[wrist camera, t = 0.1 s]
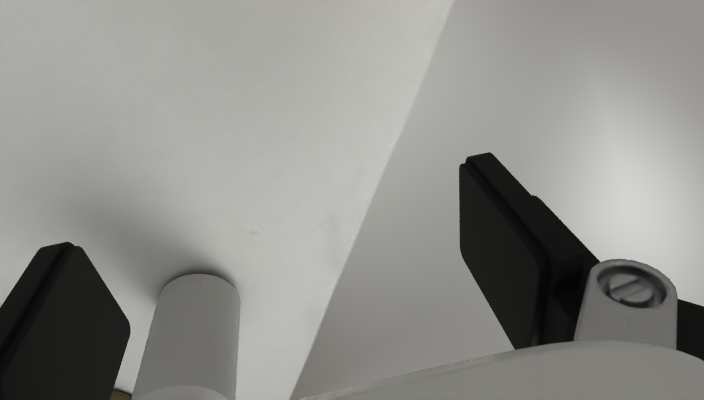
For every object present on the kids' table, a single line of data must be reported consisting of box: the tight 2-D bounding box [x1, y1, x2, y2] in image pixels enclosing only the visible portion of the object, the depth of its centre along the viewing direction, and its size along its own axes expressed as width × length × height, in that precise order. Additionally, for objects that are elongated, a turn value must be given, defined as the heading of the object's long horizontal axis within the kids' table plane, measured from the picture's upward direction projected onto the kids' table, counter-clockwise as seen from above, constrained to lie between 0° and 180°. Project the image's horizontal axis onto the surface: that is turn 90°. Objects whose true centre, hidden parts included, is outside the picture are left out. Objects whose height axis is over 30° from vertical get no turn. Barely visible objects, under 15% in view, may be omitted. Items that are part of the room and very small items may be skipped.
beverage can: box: [131, 274, 240, 400], centre depth 32 cm, size 6×6×12 cm
